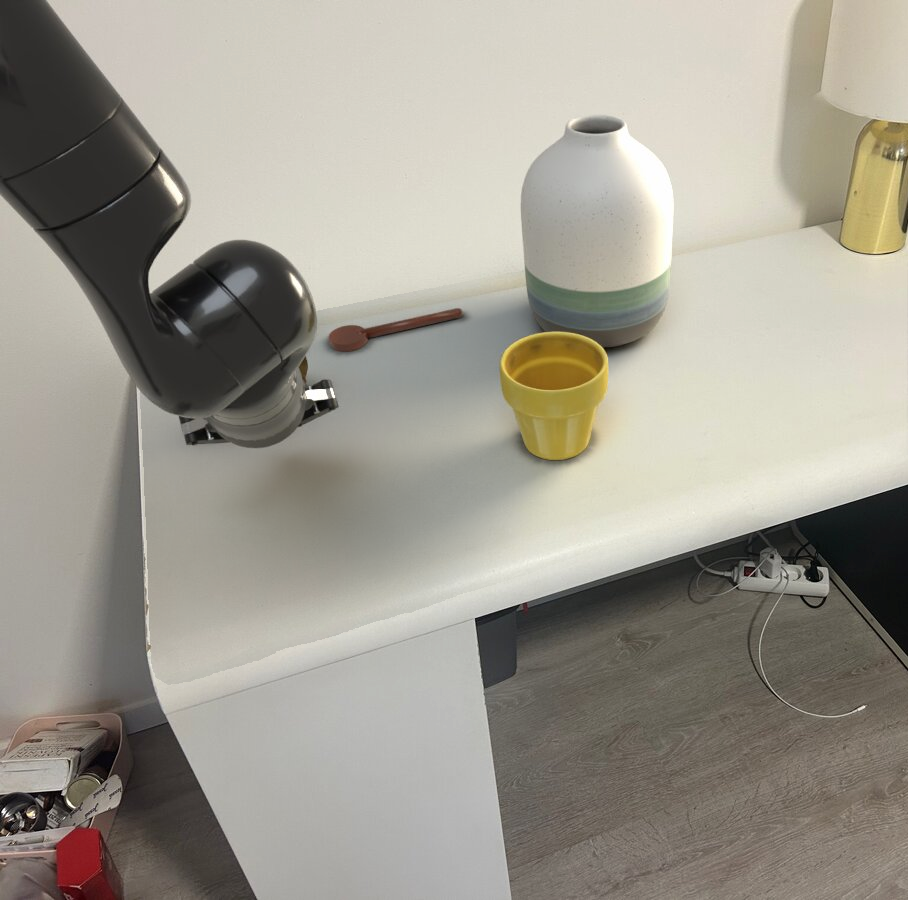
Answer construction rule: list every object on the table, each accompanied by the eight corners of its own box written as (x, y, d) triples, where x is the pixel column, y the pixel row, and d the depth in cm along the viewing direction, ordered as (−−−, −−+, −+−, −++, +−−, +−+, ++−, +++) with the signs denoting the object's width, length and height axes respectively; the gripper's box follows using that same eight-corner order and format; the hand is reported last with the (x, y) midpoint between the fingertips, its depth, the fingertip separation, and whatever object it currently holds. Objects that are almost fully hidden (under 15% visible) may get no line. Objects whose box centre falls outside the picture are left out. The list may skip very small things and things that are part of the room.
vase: (662, 289, 110) (671, 97, 95) (673, 361, 97) (684, 152, 82) (532, 291, 110) (519, 99, 95) (525, 363, 97) (508, 154, 82)
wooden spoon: (334, 355, 99) (331, 346, 98) (327, 337, 102) (325, 328, 101) (468, 324, 104) (467, 315, 103) (458, 308, 107) (456, 299, 106)
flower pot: (627, 453, 84) (628, 371, 78) (532, 486, 80) (525, 403, 74) (580, 399, 91) (577, 320, 85) (491, 427, 87) (481, 347, 81)
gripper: (326, 322, 65) (329, 374, 82) (140, 363, 61) (183, 408, 77) (353, 415, 65) (351, 448, 81) (168, 462, 61) (205, 487, 77)
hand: (269, 429), depth 79 cm, fingers closed
